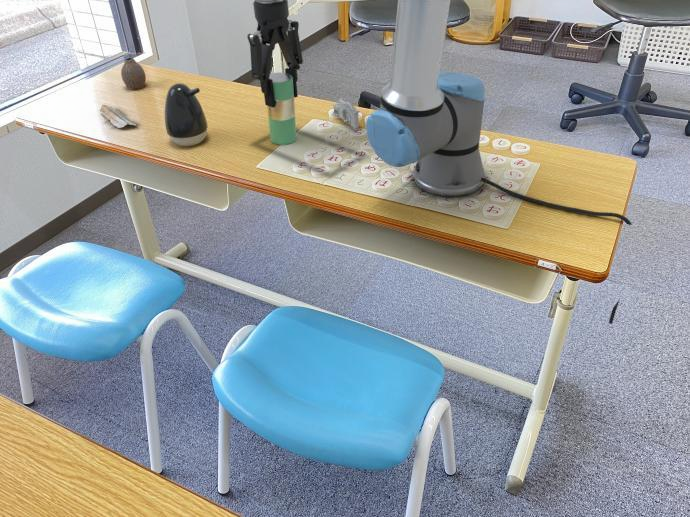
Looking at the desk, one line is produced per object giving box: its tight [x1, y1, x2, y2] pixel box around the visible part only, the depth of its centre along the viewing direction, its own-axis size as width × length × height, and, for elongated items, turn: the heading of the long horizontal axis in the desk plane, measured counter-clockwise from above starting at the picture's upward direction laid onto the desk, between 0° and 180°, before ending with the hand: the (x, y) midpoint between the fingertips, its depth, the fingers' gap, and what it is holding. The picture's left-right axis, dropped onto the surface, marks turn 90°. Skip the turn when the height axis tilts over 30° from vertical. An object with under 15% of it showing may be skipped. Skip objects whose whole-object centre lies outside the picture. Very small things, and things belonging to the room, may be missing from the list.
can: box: [266, 72, 298, 146], centre depth 143 cm, size 16×7×7 cm
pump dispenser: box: [164, 82, 209, 147], centre depth 145 cm, size 10×10×15 cm
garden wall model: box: [332, 98, 361, 129], centre depth 154 cm, size 12×2×6 cm, turn 28°
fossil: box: [98, 104, 137, 129], centre depth 163 cm, size 18×3×4 cm
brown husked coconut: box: [120, 57, 147, 90], centre depth 179 cm, size 7×7×9 cm
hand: (281, 100), depth 141 cm, fingers closed on can, 7 cm apart
